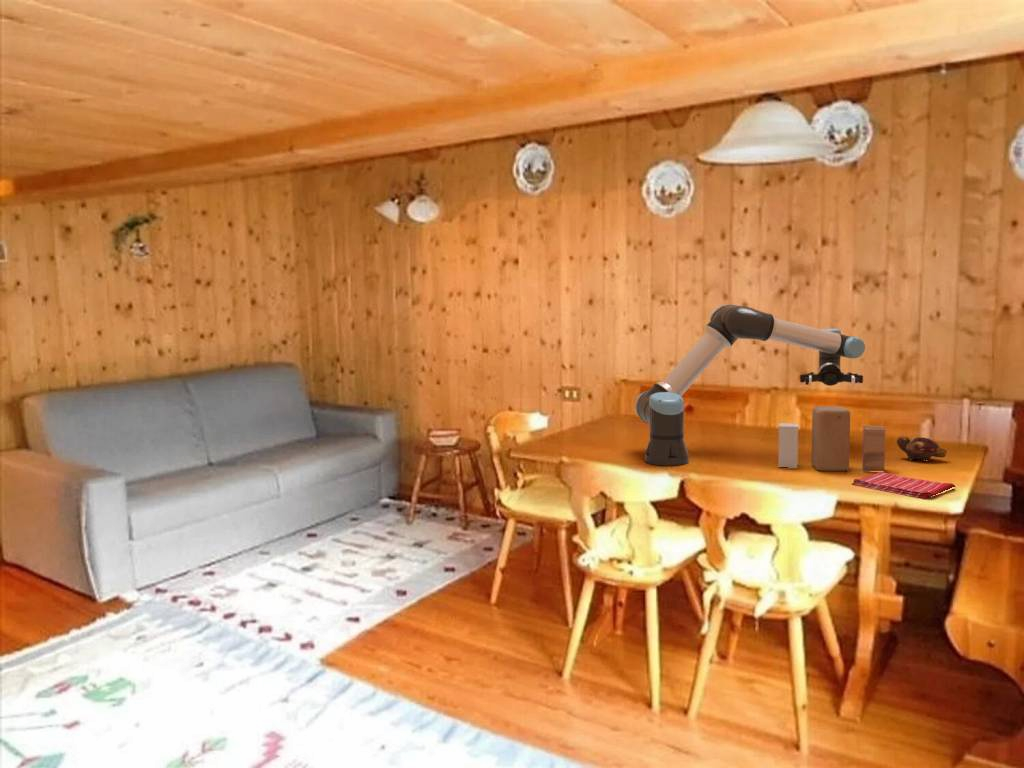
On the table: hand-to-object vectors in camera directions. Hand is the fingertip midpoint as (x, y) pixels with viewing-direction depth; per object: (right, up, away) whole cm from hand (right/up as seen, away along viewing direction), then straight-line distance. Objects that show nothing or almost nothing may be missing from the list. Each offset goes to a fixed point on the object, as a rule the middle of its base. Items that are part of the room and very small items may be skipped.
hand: (831, 381), depth 273 cm
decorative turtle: (+31, -27, +2) cm, 41 cm away
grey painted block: (-15, -28, -2) cm, 32 cm away
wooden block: (-3, -29, -6) cm, 29 cm away
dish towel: (+9, -32, -32) cm, 46 cm away
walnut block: (+9, -29, -11) cm, 32 cm away
